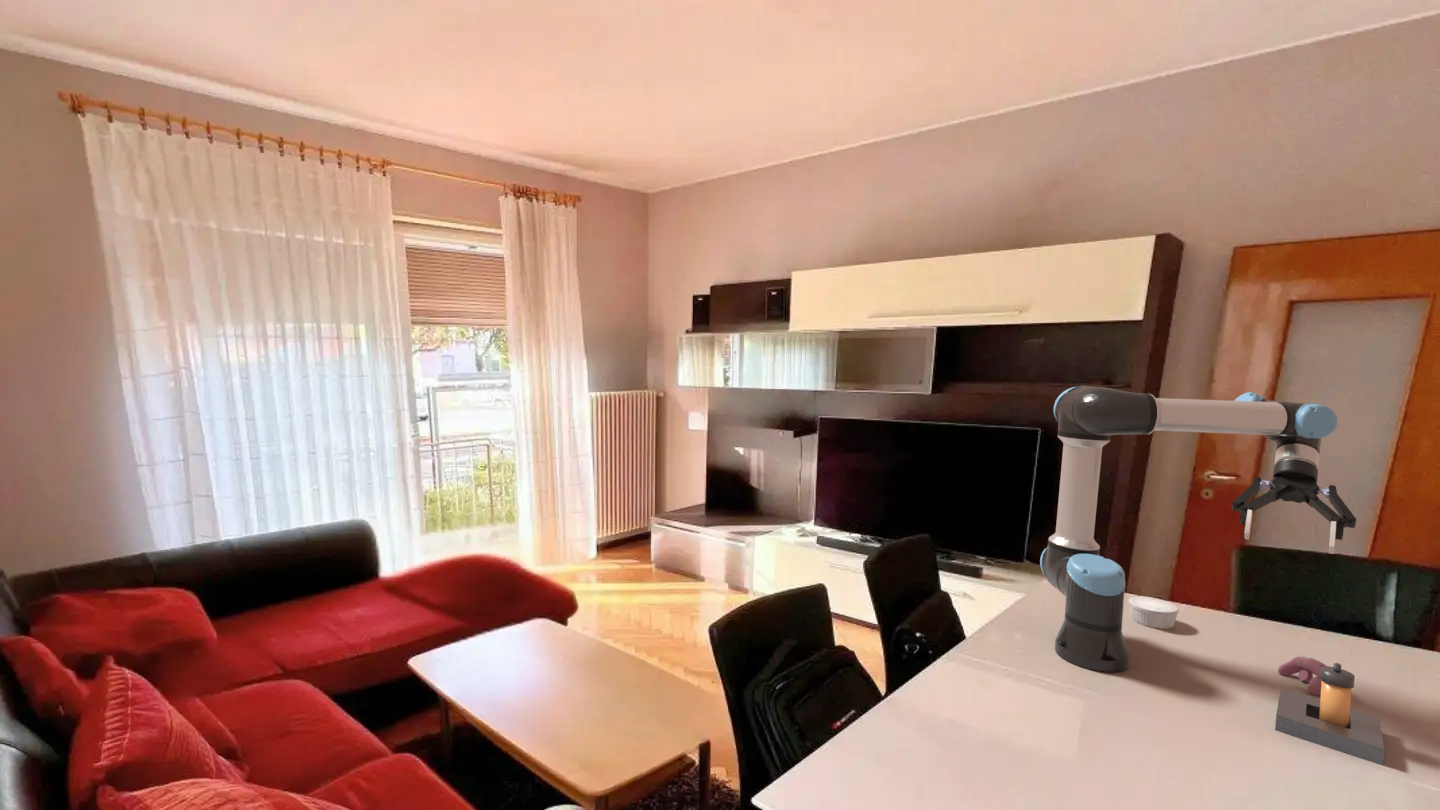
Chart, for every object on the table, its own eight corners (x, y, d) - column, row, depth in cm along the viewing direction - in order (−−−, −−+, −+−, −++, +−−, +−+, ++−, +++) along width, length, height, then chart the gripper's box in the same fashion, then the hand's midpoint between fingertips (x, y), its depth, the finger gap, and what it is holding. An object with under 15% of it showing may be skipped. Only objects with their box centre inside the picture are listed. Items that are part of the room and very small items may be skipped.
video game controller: (1328, 704, 128) (1348, 678, 127) (1307, 693, 129) (1327, 666, 128) (1293, 680, 138) (1311, 655, 137) (1273, 670, 138) (1291, 645, 137)
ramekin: (1133, 626, 162) (1134, 607, 162) (1122, 611, 172) (1123, 593, 172) (1183, 634, 158) (1184, 614, 158) (1169, 618, 168) (1170, 599, 168)
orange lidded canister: (1316, 732, 115) (1321, 663, 114) (1316, 723, 118) (1320, 655, 118) (1351, 743, 112) (1356, 671, 111) (1349, 732, 115) (1354, 663, 115)
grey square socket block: (1275, 729, 116) (1276, 714, 116) (1279, 702, 126) (1280, 688, 126) (1382, 765, 106) (1384, 748, 106) (1378, 732, 116) (1379, 717, 116)
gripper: (1372, 485, 135) (1369, 566, 125) (1227, 470, 152) (1215, 539, 143) (1375, 464, 130) (1372, 546, 121) (1226, 451, 148) (1213, 521, 139)
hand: (1287, 543), depth 132 cm, fingers open, 13 cm apart
